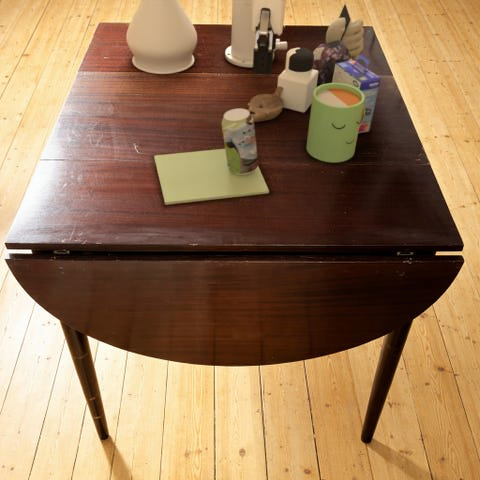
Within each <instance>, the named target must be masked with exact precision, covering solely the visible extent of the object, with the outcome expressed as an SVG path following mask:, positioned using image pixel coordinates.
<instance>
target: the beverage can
mask: <svg viewBox="0 0 480 480" xmlns="http://www.w3.org/2000/svg"><path fill="white" fill-rule="evenodd" d="M222 117H223V118H222V119H221V120H222V121H221V131H222V137H223V142H224V149H225V151H226V158H227V164H228V169H229V170H230V171H231V172H233V173H235V174H238V175H244V174H248V173H251V172H252V171H253V170H255V169H256V168H257V166H258V167H259V159H258V148H257V140H256V129H255V122H254V120H253V117H252V116H251V115H250V112H249V111H248V109H246V108H240V107H239V108H232V109H229V110H226V111H225V112H224V113H223V116H222Z"/></svg>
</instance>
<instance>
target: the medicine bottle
mask: <svg viewBox="0 0 480 480" xmlns="http://www.w3.org/2000/svg"><path fill="white" fill-rule="evenodd" d="M313 52H314V51H312V50H311V49H309V48H305V47H294V48H290V49H289V50H287V52H286V57H285V68H284V69H283V70H282V72H281V73H280V74H279V75H278V76H277V86H276V88H277V87H278V86H279V87H280V86H281V87H283V90H282V91H281V94H280V97H281V99H283V102H284V105H283V109H287V110H292V111H294V112H299V113H302V114H304V113H306V111H308V109H309V108H310V107H311V106H312V98H313V92H314V90H315V88H317V87H318V86H317V85H318V82H317V79H318V70H313V62H314V54H313Z"/></svg>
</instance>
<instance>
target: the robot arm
mask: <svg viewBox="0 0 480 480" xmlns="http://www.w3.org/2000/svg"><path fill="white" fill-rule="evenodd" d="M286 1H287V0H231V36H230V39H231V40H230V41H231V42H230V46H228V47H227V48H226V49H225V51H224V58H225V59H226V61H227V62H228V63H230V64H231V65H235V66H237V67H242V68H252V73H253V74H257V75H267V76H268V75H272V73H273V61H274V60H275V52H276V51H288V42H287V41H281V39H280V38H277V36H281V35H282V34H283V30H284V24H285V14H286V13H285V12H286Z"/></svg>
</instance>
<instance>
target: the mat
mask: <svg viewBox="0 0 480 480" xmlns="http://www.w3.org/2000/svg"><path fill="white" fill-rule="evenodd" d="M153 159H154V164H155V167H156V170H157V176H158V180H159V184H160V189H161V192H162V197H163V201H164V205H165V206H168V205H176V204H185V203H186V204H187V203H194V202H203V201H211V200H212V201H214V200H221V199H231V198H239V197H249V196H257V195H266V194H267V195H268V194H269V193H270V189H269V187H268V185H267V183H266V181H265V178H264V176H263V174H262V171H261V169H260V167H259V165H258V166H257V168H256V169H255V170H253V171H252V172H251V173H248V174H244V175H238V174H235V173H233V172H231V171H230V170H229V169H228V164H227V158H226V151H225V148H218V149H209V150H208V149H207V150H199V151H188V152H178V153H168V154H167V153H166V154H157V155H153Z"/></svg>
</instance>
